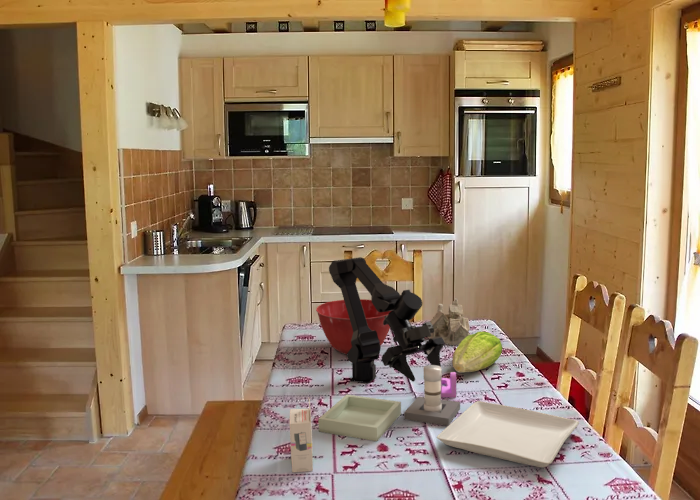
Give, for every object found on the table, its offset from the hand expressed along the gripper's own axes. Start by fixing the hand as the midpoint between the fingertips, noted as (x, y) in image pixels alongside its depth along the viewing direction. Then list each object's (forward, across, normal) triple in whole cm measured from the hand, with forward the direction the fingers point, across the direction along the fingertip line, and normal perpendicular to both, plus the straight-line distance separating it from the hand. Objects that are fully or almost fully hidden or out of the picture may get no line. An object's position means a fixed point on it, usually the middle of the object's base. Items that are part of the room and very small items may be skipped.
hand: (427, 377), depth 180 cm
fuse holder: (+8, 0, +6) cm, 10 cm away
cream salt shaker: (+8, 0, +6) cm, 10 cm away
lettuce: (-7, +35, +21) cm, 41 cm away
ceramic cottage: (-28, +50, +42) cm, 71 cm away
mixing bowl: (-35, +16, +48) cm, 62 cm away
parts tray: (+4, -19, +10) cm, 22 cm away
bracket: (0, +15, +14) cm, 21 cm away
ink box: (+12, -43, +2) cm, 44 cm away
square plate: (+25, +5, -10) cm, 28 cm away
